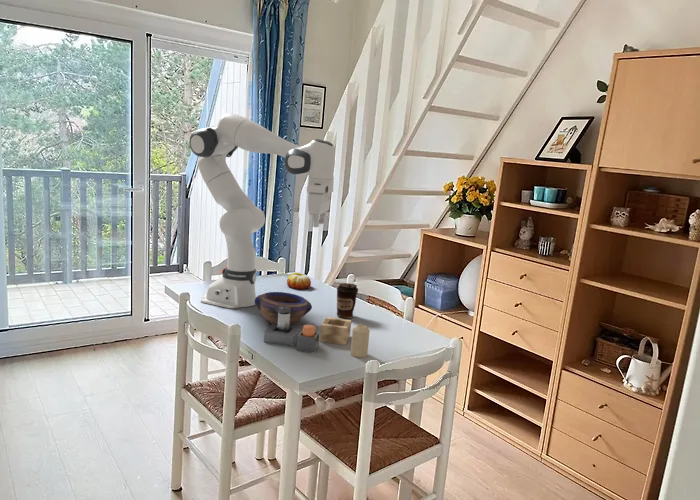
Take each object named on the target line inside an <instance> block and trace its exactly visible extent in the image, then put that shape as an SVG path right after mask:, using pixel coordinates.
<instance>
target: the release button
mask: <svg viewBox="0 0 700 500" xmlns="http://www.w3.org/2000/svg"><path fill="white" fill-rule="evenodd" d="M302 330H303V334H302V336H309V337H314V336H315V332H316V325H313V324H304V325H302Z"/></svg>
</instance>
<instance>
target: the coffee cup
mask: <svg viewBox="0 0 700 500" xmlns="http://www.w3.org/2000/svg"><path fill="white" fill-rule="evenodd" d="M357 286H358V285H357V284H355V283H351V282H350V283H346V282H345V283H339V284H338V286H337V288H336V311H337V312H336V316H337V318H340V319H353V317H354V314H353V313H354V310H355V306H356V302H357V295H358V293H359V288H358V287H357Z"/></svg>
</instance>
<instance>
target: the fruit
mask: <svg viewBox="0 0 700 500" xmlns="http://www.w3.org/2000/svg"><path fill="white" fill-rule="evenodd" d="M286 285H287V287H290V289H295V290H300V291H301V290H307V289H309V288H310V287H311V286H312V281H311V279H310V277H309V276H308V275H306V274H305V273H299V272H292V273H291V274H290V275H288V277H287V279H286Z"/></svg>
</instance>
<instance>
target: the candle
mask: <svg viewBox="0 0 700 500" xmlns="http://www.w3.org/2000/svg"><path fill="white" fill-rule="evenodd" d="M369 340H370V329H369V327H368V326H367V325H364V324H363V323H359V324H357V325H355V326H354V327H352V332H351V344H350V345H351V346H350V355H351V356H352V357H354V358H359V359H362V358H366V357H367V356H368V352H369V343H370V341H369Z"/></svg>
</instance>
